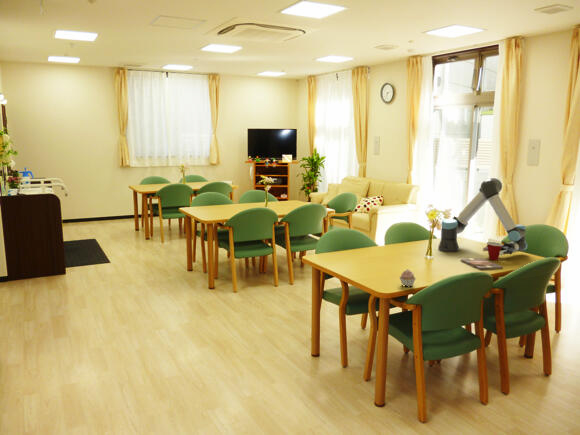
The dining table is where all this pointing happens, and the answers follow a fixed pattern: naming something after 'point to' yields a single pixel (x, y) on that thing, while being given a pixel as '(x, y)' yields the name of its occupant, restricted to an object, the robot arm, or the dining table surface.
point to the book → (481, 264)
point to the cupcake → (407, 278)
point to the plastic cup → (494, 250)
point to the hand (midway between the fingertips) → (491, 251)
